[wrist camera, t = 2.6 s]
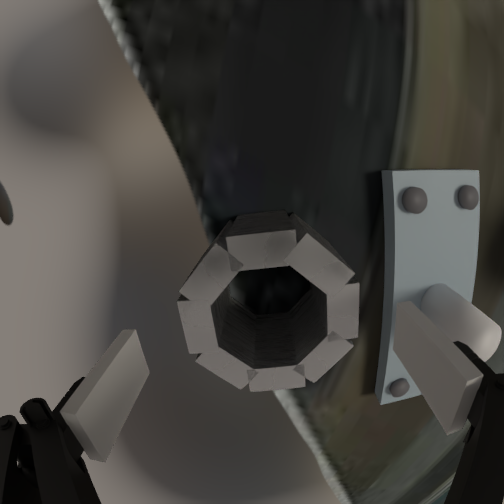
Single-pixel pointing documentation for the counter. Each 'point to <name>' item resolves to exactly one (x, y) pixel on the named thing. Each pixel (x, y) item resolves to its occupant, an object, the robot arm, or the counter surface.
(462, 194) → the block
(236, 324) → the grey hollow octagonal piece
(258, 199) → the counter surface
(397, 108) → the counter surface
